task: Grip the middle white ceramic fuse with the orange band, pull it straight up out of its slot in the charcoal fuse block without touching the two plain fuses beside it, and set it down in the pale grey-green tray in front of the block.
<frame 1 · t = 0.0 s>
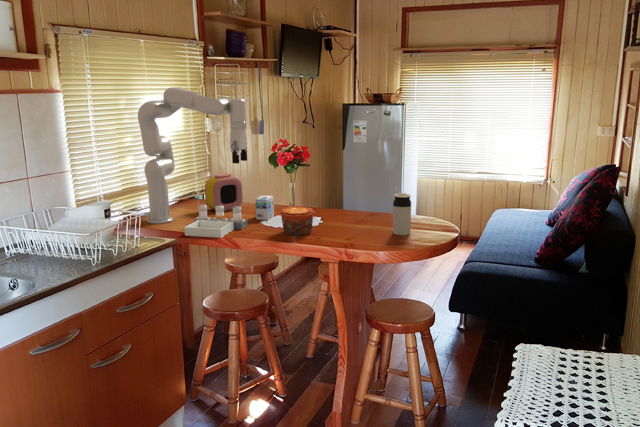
hand: (240, 161, 258), 31 cm above the table, tool pointing down, fingers open, 9 cm apart
food container: (297, 233, 251), on the table
marked fuse: (220, 226, 263), resting in fuse block
right fuse: (237, 227, 261), resting in fuse block
tray: (209, 232, 252), on the table
travel mug: (401, 233, 247), on the table
light bulb box: (265, 218, 281), on the table
fuse block: (220, 226, 263), on the table
left fuse: (203, 225, 266), resting in fuse block
alarm clock: (224, 209, 301), on the table
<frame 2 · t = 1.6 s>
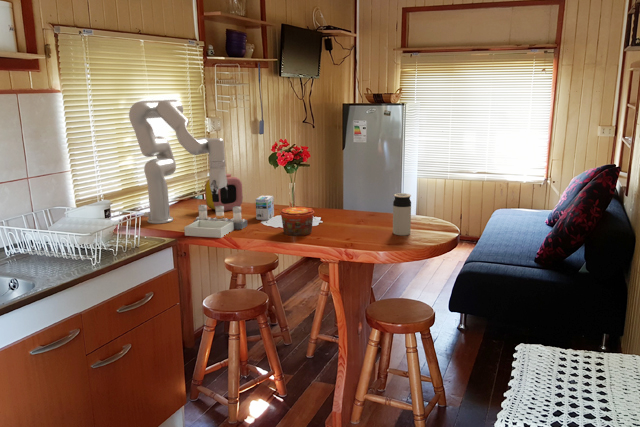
hand: (220, 199, 260), 13 cm above the table, tool pointing down, fingers open, 9 cm apart
nothing on the table moved.
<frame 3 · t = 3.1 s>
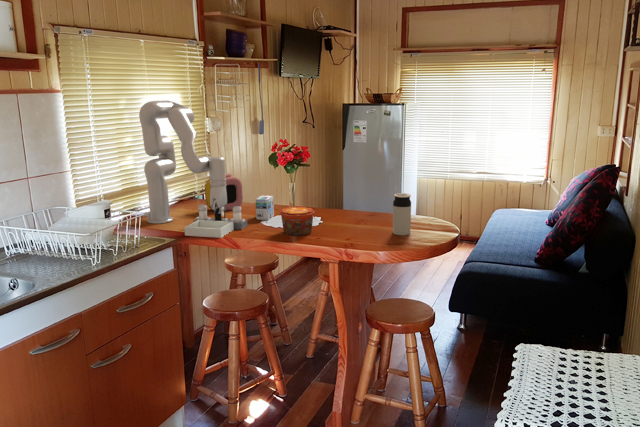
hand: (220, 219, 263), 3 cm above the table, tool pointing down, fingers closed on marked fuse, 3 cm apart
marked fuse: (220, 226, 263), resting in fuse block, touching gripper
everything else where it was.
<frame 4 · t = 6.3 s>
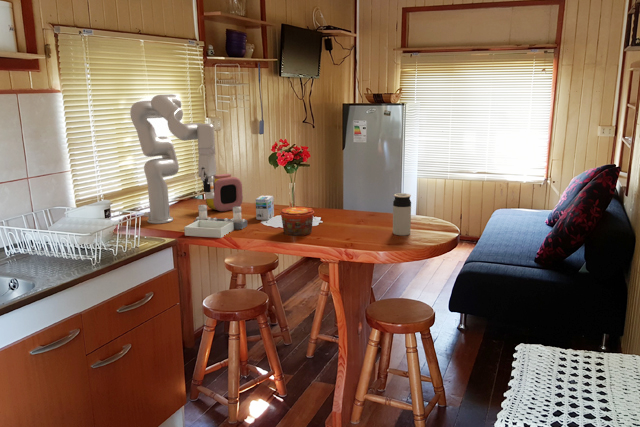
hand: (209, 190, 249), 19 cm above the table, tool pointing down, fingers closed on marked fuse, 3 cm apart
marked fuse: (209, 197, 250), point 16 cm above the table, touching gripper
everything else where it was.
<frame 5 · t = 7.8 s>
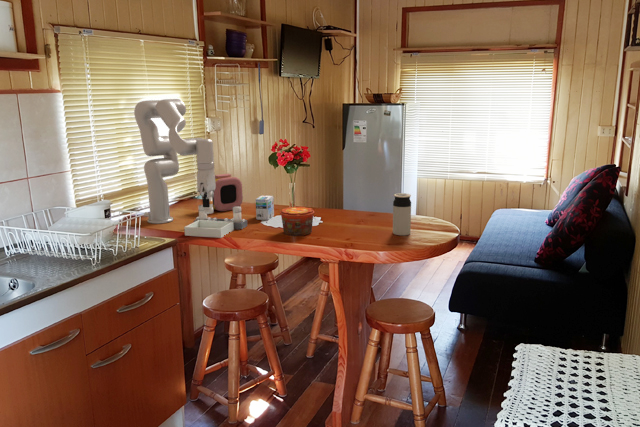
hand: (208, 205, 249), 13 cm above the table, tool pointing down, fingers closed on marked fuse, 3 cm apart
marked fuse: (209, 212, 250), point 10 cm above the table, touching gripper
everything else where it was.
when the fingers open (6 cm above the table, at t = 9.4 s): marked fuse drops 1 cm, resting on tray.
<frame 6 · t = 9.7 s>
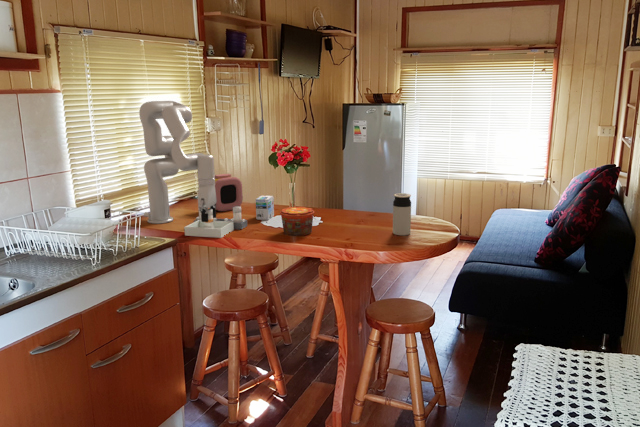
hand: (208, 219, 251), 6 cm above the table, tool pointing down, fingers open, 7 cm apart
marked fuse: (209, 230, 252), point 1 cm above the table, touching tray
everything else where it was.
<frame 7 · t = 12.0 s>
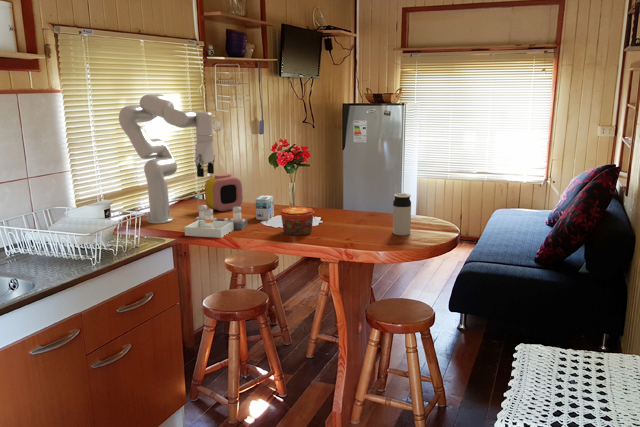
hand: (205, 175, 257), 25 cm above the table, tool pointing down, fingers open, 9 cm apart
nothing on the table moved.
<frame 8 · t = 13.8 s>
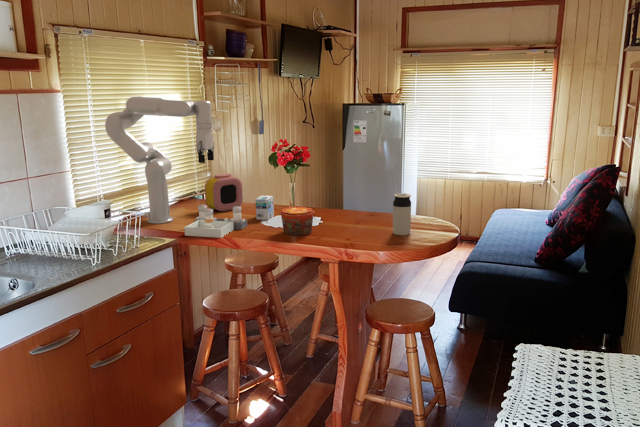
hand: (206, 161, 268), 30 cm above the table, tool pointing down, fingers open, 9 cm apart
nothing on the table moved.
at the end: marked fuse inside the target area on the tray (0.0 cm from its centre), point 1.0 cm above the tray's base; left fuse moved 0.0 cm from its start; right fuse moved 0.0 cm from its start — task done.
